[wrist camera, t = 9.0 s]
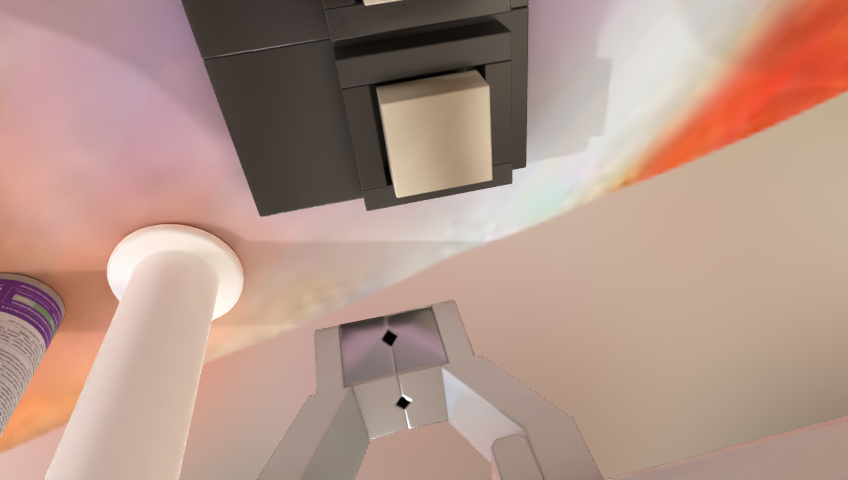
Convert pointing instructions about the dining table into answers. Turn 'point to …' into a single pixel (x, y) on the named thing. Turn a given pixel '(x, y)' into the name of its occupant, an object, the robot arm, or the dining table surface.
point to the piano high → (318, 20)
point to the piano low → (361, 108)
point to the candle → (149, 356)
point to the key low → (437, 132)
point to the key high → (376, 1)
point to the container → (23, 335)
